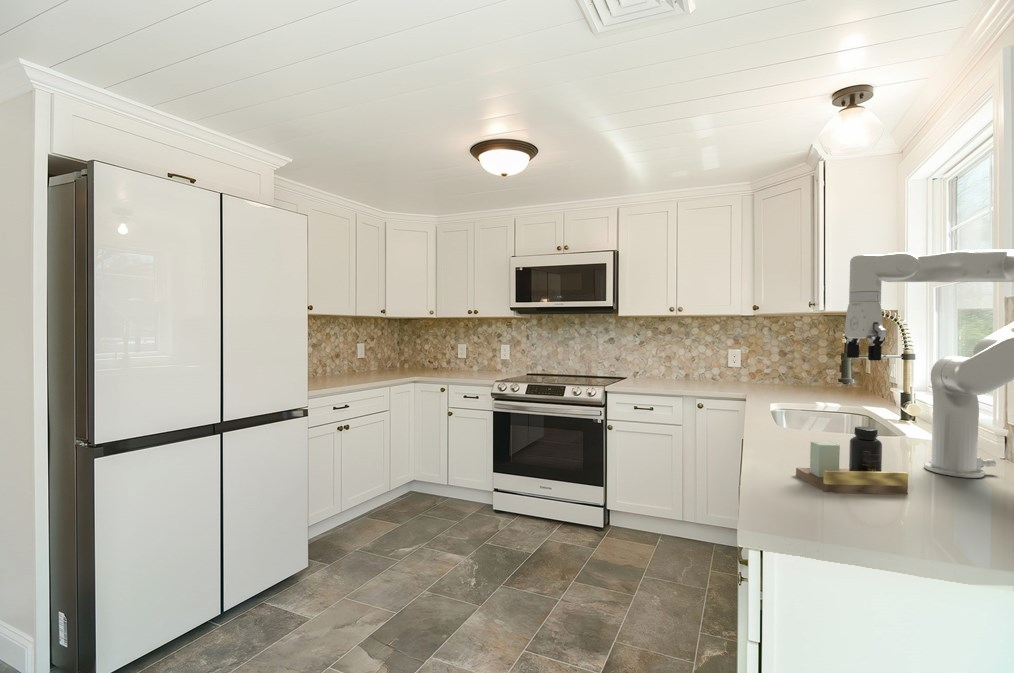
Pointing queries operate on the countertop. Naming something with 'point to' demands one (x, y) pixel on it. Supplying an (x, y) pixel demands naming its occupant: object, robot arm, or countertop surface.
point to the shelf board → (857, 481)
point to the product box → (824, 457)
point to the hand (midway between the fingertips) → (863, 359)
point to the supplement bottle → (865, 450)
